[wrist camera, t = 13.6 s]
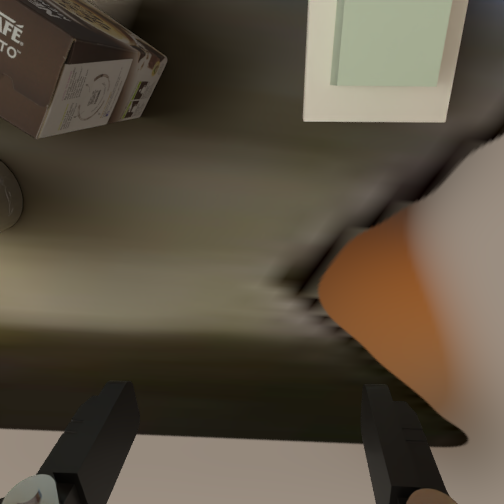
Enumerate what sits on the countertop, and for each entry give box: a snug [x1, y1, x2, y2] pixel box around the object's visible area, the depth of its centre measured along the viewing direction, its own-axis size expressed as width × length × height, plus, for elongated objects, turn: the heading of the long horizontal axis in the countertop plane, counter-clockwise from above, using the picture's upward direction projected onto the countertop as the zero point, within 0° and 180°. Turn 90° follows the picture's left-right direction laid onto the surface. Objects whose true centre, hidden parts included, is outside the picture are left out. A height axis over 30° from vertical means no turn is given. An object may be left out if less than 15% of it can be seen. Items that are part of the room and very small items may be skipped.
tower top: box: [303, 0, 469, 122], centre depth 28 cm, size 10×10×4 cm
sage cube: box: [330, 0, 452, 87], centre depth 23 cm, size 6×6×6 cm
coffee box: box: [0, 0, 167, 139], centre depth 28 cm, size 9×6×16 cm
